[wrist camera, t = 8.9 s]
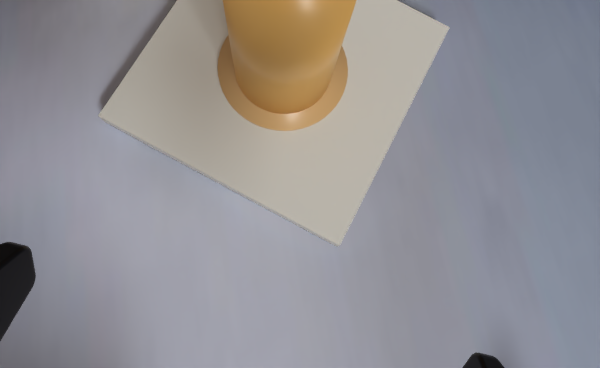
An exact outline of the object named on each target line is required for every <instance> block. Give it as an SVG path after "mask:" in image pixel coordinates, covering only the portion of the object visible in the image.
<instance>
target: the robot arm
mask: <svg viewBox="0 0 600 368" xmlns="http://www.w3.org/2000/svg"><path fill="white" fill-rule="evenodd" d="M35 277H36V275H35V269H34V263H33V257H32V252H31V249H30V248H29V247H28V246H25V245H21V244H17V243H12V242H6V243H2V244H0V341H1V339H2V337H3V336H4V334H5V332H6V331H7V329H8V327H9V326H10V324H11V322H12V321H13V319H14V317H15V316H16V314H17V312H18V311H19V309H20V307H21V306H22V304H23V302H24V301H25V299H26V297H27V295H28V294H29V292H30V290H31V289H32V287H33V285H34V282H35ZM463 368H504V367H503V365H502V364H501V363H500V361H499V360H498V359H497V358H495V357H493V356H490V355H486V354H482V353H474V354H472V355H471V357H470V358H469V359H468V361H467V362H466V364H465V365H464V366H463Z"/></svg>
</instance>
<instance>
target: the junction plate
mask: <svg viewBox="0 0 600 368" xmlns="http://www.w3.org/2000/svg"><path fill="white" fill-rule="evenodd" d="M449 28H450V27H448V26H446V25H444V24H442V23H440V22H438V21H436V20H434V19H432V18H430V17H428V16H426V15H425V14H423V13H421V12H419V11H417V10H415V9H413V8H411V7H409V6H407V5H405V4H403V3H401V2H399V1H397V0H357V1H356V4H355V7H354V10H353V13H352V16H351V19H350V22H349V25H348V28H347V31H346V34H345V37H344V40H343V43H342V46H341V50H340V53H339V56H338V59H337V62H336V65H335V68H334V71H333V74H332V77H331V80H330V83H329V86H328V88H327V90H326V92H325V93H324V95H323V96H322V97H321V99H320V100H319V101H318V102H316V103H315V104H314V105H313V106H311V107H309V108H307V109H305V110H303V111H300V112H297V113H291V114H278V113H272V112H268V111H266V110H263V109H261V108H259V107H257V106H256V105H254V104H253V103H252V102H251V101H250V100H248V99H247V98H246V96H245V95H244V94H243V92H242V91H241V89H240V88H239V85H238V83H237V80H236V76H235V70H234V64H233V59H232V53H231V47H230V41H229V35H228V29H227V23H226V17H225V11H224V5H223V0H177V1H176V3H175V4H174V6H173V7H172V8H171V10H170V11H169V13H168V14H167V16H166V17H165V19H164V20H163V22H162V23H161V25H160V26H159V27H158V29H157V30H156V32H155V33H154V35H153V36H152V38H151V39H150V41H149V42H148V44H147V45H146V47H145V48H144V49H143V51H142V52H141V54H140V55H139V57H138V58H137V60H136V61H135V63H134V64H133V66H132V67H131V68H130V70H129V71H128V73H127V74H126V76H125V77H124V79H123V80H122V82H121V83H120V85H119V86H118V88H117V89H116V90H115V92H114V93H113V95H112V96H111V98H110V99H109V101H108V102H107V104H106V105H105V107H104V108H103V109H102V111H101V112H100V114H99V115H98V116H99V117H100V118H101V119H102V120H104V121H105V122H106V123H108V124H110V125H111V126H113V127H115V128H117V129H119V130H121V131H123V132H124V133H126V134H128V135H130V136H132V137H134V138H136V139H137V140H139V141H141V142H143V143H145V144H147V145H149V146H150V147H152V148H154V149H156V150H158V151H160V152H162V153H163V154H165V155H167V156H169V157H171V158H173V159H175V160H176V161H178V162H180V163H182V164H184V165H186V166H188V167H189V168H191V169H193V170H195V171H197V172H199V173H201V174H202V175H204V176H206V177H208V178H210V179H212V180H214V181H215V182H217V183H219V184H221V185H223V186H225V187H227V188H228V189H230V190H232V191H234V192H236V193H238V194H240V195H241V196H243V197H245V198H247V199H249V200H251V201H253V202H254V203H256V204H258V205H260V206H262V207H264V208H266V209H267V210H269V211H271V212H273V213H275V214H277V215H279V216H280V217H282V218H284V219H286V220H288V221H290V222H292V223H293V224H295V225H297V226H299V227H301V228H303V229H305V230H306V231H308V232H310V233H312V234H314V235H316V236H318V237H319V238H321V239H323V240H325V241H327V242H329V243H331V244H332V245H334V246H336V247H338V246H340V244H341V242H342V240H343V238H344V236H345V234H346V232H347V230H348V228H349V226H350V224H351V222H352V220H353V218H354V216H355V214H356V212H357V210H358V208H359V207H360V205H361V203H362V201H363V199H364V197H365V195H366V193H367V191H368V189H369V187H370V185H371V183H372V181H373V179H374V177H375V175H376V173H377V171H378V169H379V167H380V165H381V163H382V161H383V159H384V157H385V155H386V153H387V151H388V149H389V147H390V145H391V143H392V141H393V139H394V137H395V135H396V133H397V131H398V129H399V127H400V125H401V123H402V121H403V119H404V117H405V115H406V113H407V111H408V109H409V107H410V105H411V103H412V101H413V99H414V97H415V95H416V93H417V91H418V89H419V87H420V85H421V83H422V81H423V79H424V77H425V75H426V73H427V71H428V69H429V67H430V65H431V64H432V62H433V60H434V58H435V56H436V54H437V52H438V50H439V48H440V46H441V44H442V42H443V40H444V38H445V36H446V34H447V32H448V30H449Z"/></svg>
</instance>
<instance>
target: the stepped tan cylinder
mask: <svg viewBox="0 0 600 368" xmlns="http://www.w3.org/2000/svg"><path fill="white" fill-rule="evenodd" d="M356 1H357V0H223V5H224V11H225V17H226V23H227V29H228V35H229V41H230V47H231V53H232V59H233V64H234V70H235V76H236V80H237V83H238V85H239V88H240V89H241V91H242V92H243V94H244V95H245V96H246V98H247V99H248V100H250V101H251V102H252V103H253V104H254V105H256V106H257V107H259V108H261V109H263V110H266V111H268V112H272V113H278V114H291V113H297V112H300V111H303V110H305V109H307V108H309V107H311V106H313V105H314V104H315V103H316V102H318V101H319V100H320V99H321V97H322V96H323V95H324V93H325V92H326V90H327V88H328V86H329V83H330V80H331V77H332V74H333V71H334V68H335V65H336V62H337V59H338V56H339V53H340V50H341V46H342V43H343V40H344V37H345V34H346V31H347V28H348V25H349V22H350V19H351V16H352V13H353V10H354V7H355V4H356Z"/></svg>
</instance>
